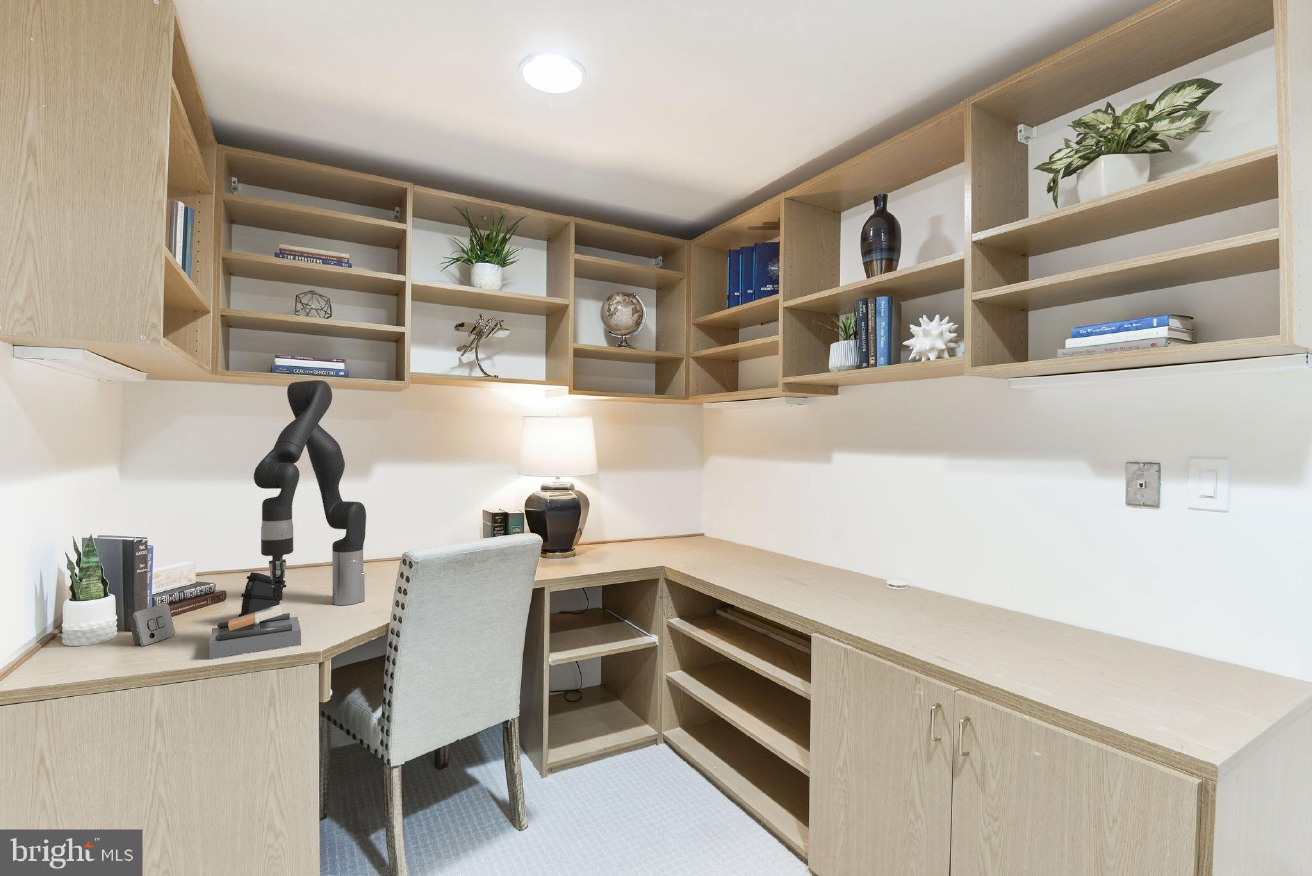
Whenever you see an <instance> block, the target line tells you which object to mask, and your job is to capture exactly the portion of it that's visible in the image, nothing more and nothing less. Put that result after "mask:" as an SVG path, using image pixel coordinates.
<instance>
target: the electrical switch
mask: <svg viewBox="0 0 1312 876" xmlns="http://www.w3.org/2000/svg"><path fill="white" fill-rule="evenodd" d="M127 618H128V619H127V620H128V623H129V626H130V631H131V635H132V638H133V642H134V645H135V646H137V645H140V646H142V647H146V646H148V645H152V644H155V643H156V642H160V641H162V640H166V639H168V638H171V637H173V636H175V635H176V633H177V632H176V630H175V626H174V621H173V617H172V614H171V608H170V605H169V604H168V603H161V604H158V605H154V606H151V607H148V608H143V609H140V610H137V611H134V613H133V614H132V615H131V616H128V617H127Z"/></svg>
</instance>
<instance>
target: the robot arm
mask: <svg viewBox="0 0 1312 876" xmlns="http://www.w3.org/2000/svg"><path fill="white" fill-rule="evenodd" d="M286 393H287V395H286V396H287V401H288V404H289V407H290V409H291V412H292V413H293V414H292V415H294V418H295V419H293V421H291V422H290V423H288V425H285V427H284V428H283V429H282V430H281V432H280V434H279V435H278V438H277V440H276V442H275V444H274V446H273V449H271V450H270V451H269V452H268V453H267V454H266V455H265V456H264V457H263V458H262V459H261V460H260V462H259V463H258V464H257V466H256V467H255V469H254V472H253V481H254V483H255V485H256V486H257V487H259V488H261V489H265V490H266V489H267V490H268V489H269V490H270V489H273V490H274V489H275V490H276V489H280V492H279V494H278V495H277V496H272V497H268V498H265V499H263V501H262V502H261V527H260V553H261V554H260V555H262V556H264V557H271V558H272V559H271V560H268V569H269V576H270V579H271V581H272V588H273V601H280V602H281V601H283V599H282V598H283V590H282V586H283V584H284V582H283V580H284V578H286V567H287V559H286V558H284V555H291V554H292V553H293V552H294V524H293V502H294V497H295V493H296V490H297V488H298V483H299V480H300V475H301V473H300V470H299V468H298V466H297V465H296V464H295V463H298V461H299V460H300V458H301V456H302V454H303V451H304V449H305V447H306V451H307V453H308V457H309V460H310V463H311V467H312V470H313V472H314V475H315V478H316V481H317V485H318V487H319V488H318V489H319V491H320V496H321V501H322V505H323V511H324V515H325V516H324V517H325V519H326V523H327V524H328V526H329V527H330V528H332V529H334V530H345V536H343V538H341V539H338V540H335V541H334V542H332V547H331V549H332V551H331V553H332V554H331V555H332V556H331V557H332V559H331V560H332V561H331V562H332V564H331V565H332V571H331V573H332V596H331V597H332V604H333V605H336V606H347V605H348V606H349V605H350V606H351V605H355V604H359V603H362V602H363V603H364V602H365V599H366V597H365V595H366V594H365V593H366V592H365V591H366V589H365V582H366V581H365V580H366V579H365V575H366V573H365V572H364V544H365V540H366V526H367V510H366V507H365V505H364V504H363V503H362V502H360V501H349V500H347V501H345V500H343V499H342V496H341V493H340V482H341V480H342V477H343V475H344V472H345V468H346V462H345V458H344V454H343V452H342V449H341V446H340V444H339V442H338V441H337V440H336V439H335V438H334V437H333V436H332V435H331V434H330V433H329V432H328V431H326V430H325V429H324V428H323V427H322V426H321V425H320V424H319V423H320V421H321V420H322V418H323V417H324V416H325V414H326V413H327V412H328V410H329V408H330V406H331V403H332V401H333V391H332V388H331V386H330V385H329V383H328V382H327V381H324V380H323V379H322V380H318V379H317V380H301V381H293V382H291V383H290V384H289V385H288V386H287V390H286Z"/></svg>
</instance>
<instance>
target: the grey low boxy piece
mask: <svg viewBox="0 0 1312 876" xmlns="http://www.w3.org/2000/svg"><path fill="white" fill-rule="evenodd" d="M228 623H229V620H227V621H221V622H219V623H217V624H216V625H217V627H212V628H211V632H210V637H209V638H210V639H209V642H208V643H209V644H208V648H209V654H208V655H209V656H208V657H209V660H213V659H212V658H215V659H220V657H221V658H225V657H224V656H228V657H231V656H230V655H234V656H239V655H238V654H240V655H244V654H243V653H247V654H252V653H251V652H253V653H256V652H255V651H259V652H264V650H266V651H270V650H269V649H272V650H277V648H278V649H283V648H290V647H289V646H291V647H297V646H301V645H302V629H301V624H300V620H299V618H298V616H293V617H292V616H291V614H290V612H287V613H282V615H279V616H276V617H273V618H269V619H266V620H263V621H260V622H259V624H258V625H254V623H253V624H250V625H247V626H244V627H241V628H237V629H234V630H231V631H229V627H228ZM300 644H301V645H300Z"/></svg>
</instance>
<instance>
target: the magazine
mask: <svg viewBox="0 0 1312 876" xmlns="http://www.w3.org/2000/svg"><path fill="white" fill-rule="evenodd" d="M246 579H247V583H246V585H245V588H244V592H243V593H241V595H240V597H241V598H242V603H241V608H240V609H241V610H240V613H239V614H238V617H241V616H244V615H248V614H251V613H254V612H257V611H261V610H264V609H267V608H271V607H274V606H277V605H280V606H281V600H280V601H273V588H272V581H271V579H270V575H268V574H264V573H260V572H254V571H251V572H250V574H249V575H246ZM283 582H284V584H283V586H282V591H283V590H284V588H287V584H286V580H284V579H283ZM283 599H284V598H283V597H282V600H283Z"/></svg>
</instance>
